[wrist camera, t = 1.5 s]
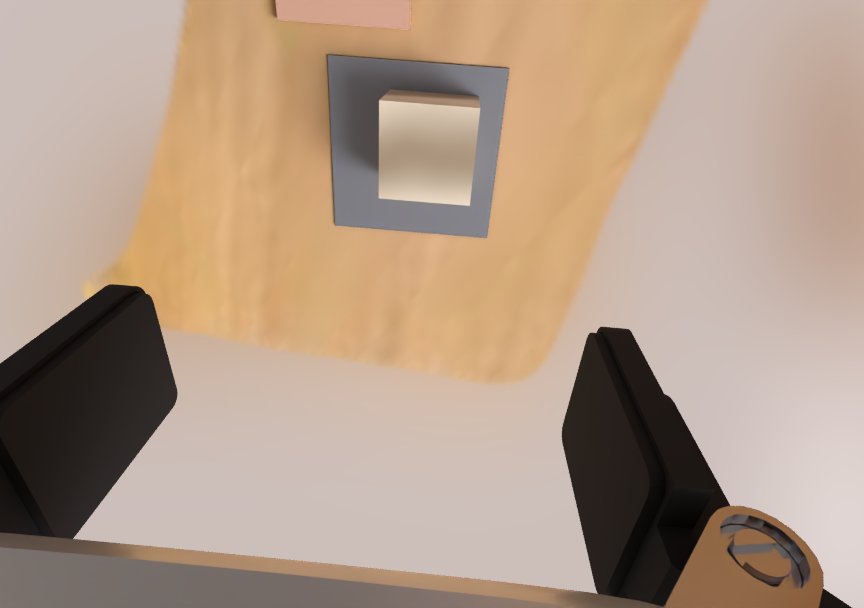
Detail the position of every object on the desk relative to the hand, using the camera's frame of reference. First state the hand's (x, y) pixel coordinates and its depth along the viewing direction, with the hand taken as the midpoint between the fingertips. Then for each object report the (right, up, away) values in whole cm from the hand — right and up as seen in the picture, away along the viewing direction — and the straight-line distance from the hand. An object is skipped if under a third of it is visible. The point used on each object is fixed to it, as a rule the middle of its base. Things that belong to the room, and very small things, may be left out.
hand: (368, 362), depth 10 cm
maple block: (+1, +11, +18) cm, 21 cm away
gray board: (0, +10, +18) cm, 21 cm away
